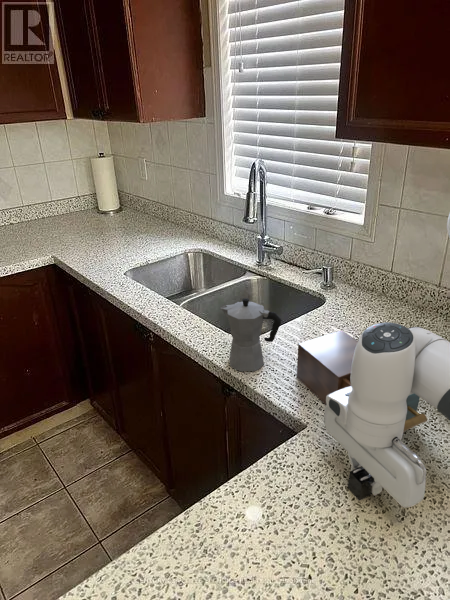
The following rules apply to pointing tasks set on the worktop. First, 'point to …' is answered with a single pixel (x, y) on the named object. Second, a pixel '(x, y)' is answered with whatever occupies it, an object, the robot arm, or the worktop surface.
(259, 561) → the worktop surface
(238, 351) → the coffeepot
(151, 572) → the worktop surface
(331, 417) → the robot arm
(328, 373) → the cabinet
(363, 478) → the clip
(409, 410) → the drawer
